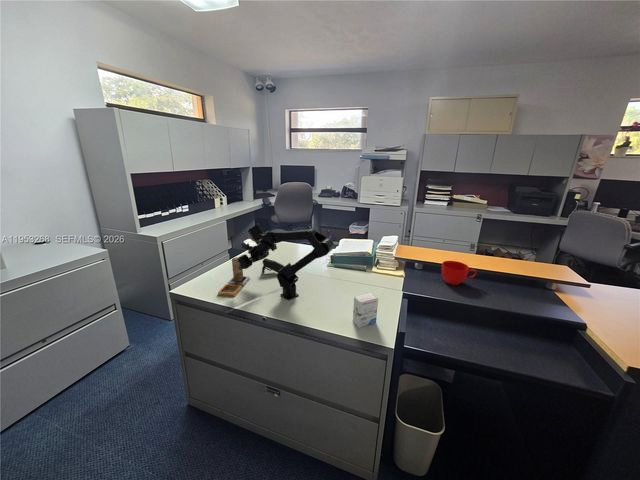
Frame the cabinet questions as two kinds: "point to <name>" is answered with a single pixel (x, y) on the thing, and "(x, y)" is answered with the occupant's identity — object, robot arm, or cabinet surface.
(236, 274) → the post
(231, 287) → the tray
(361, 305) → the ink box
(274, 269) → the gun
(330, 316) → the cabinet surface
